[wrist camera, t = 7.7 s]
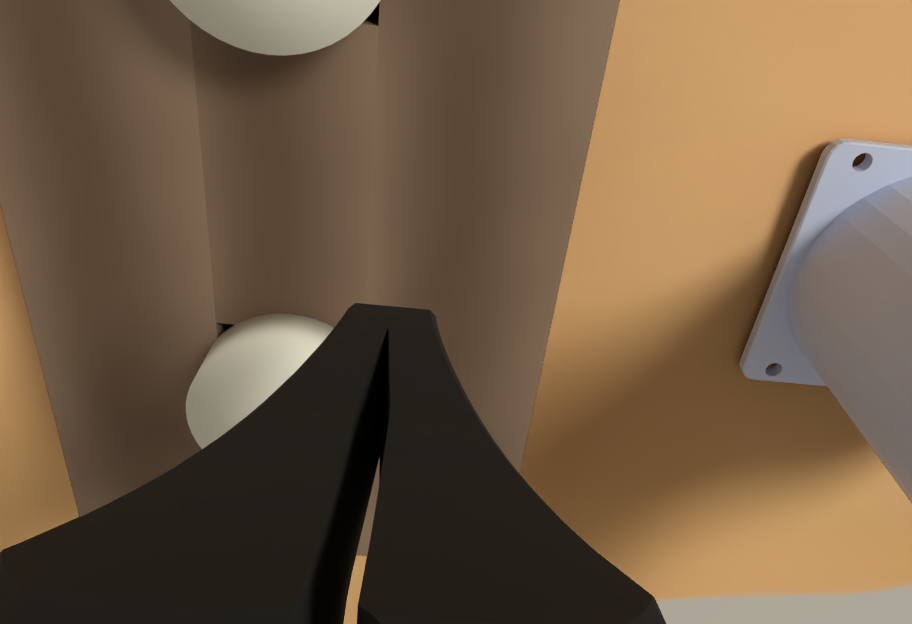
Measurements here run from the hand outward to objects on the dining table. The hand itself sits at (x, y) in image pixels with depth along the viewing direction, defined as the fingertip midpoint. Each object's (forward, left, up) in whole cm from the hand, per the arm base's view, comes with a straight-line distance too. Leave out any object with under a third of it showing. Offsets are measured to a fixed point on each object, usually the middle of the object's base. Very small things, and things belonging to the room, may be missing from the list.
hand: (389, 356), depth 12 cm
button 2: (+3, +6, -9) cm, 11 cm away
